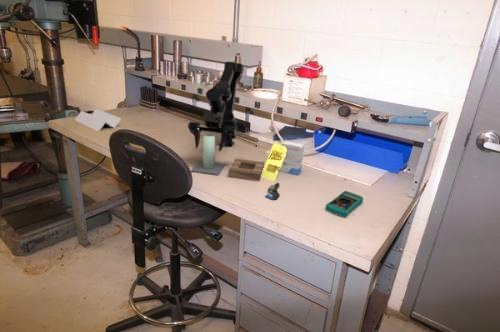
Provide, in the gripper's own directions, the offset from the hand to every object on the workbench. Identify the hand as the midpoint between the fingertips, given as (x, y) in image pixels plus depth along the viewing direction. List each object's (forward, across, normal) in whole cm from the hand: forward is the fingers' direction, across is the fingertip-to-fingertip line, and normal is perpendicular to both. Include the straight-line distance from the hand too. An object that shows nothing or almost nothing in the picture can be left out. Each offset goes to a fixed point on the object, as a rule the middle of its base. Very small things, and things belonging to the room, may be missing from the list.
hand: (207, 149), depth 133 cm
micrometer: (+14, +28, -2) cm, 32 cm away
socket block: (+5, +16, +7) cm, 18 cm away
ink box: (0, +32, +13) cm, 34 cm away
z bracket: (-21, -72, +34) cm, 82 cm away
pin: (+5, 0, +7) cm, 8 cm away
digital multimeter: (+17, +52, -4) cm, 55 cm away
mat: (+5, 0, +7) cm, 9 cm away
